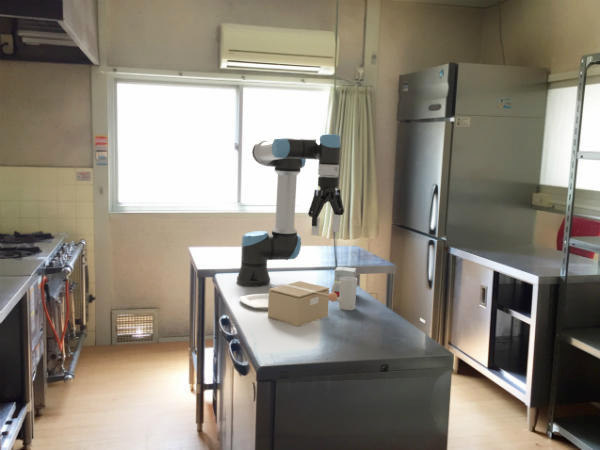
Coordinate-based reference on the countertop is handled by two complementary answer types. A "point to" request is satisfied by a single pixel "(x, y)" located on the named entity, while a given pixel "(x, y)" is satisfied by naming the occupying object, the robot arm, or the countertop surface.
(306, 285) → the flap
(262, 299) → the plate
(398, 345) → the countertop surface
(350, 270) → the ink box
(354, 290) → the mug
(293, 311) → the carton
